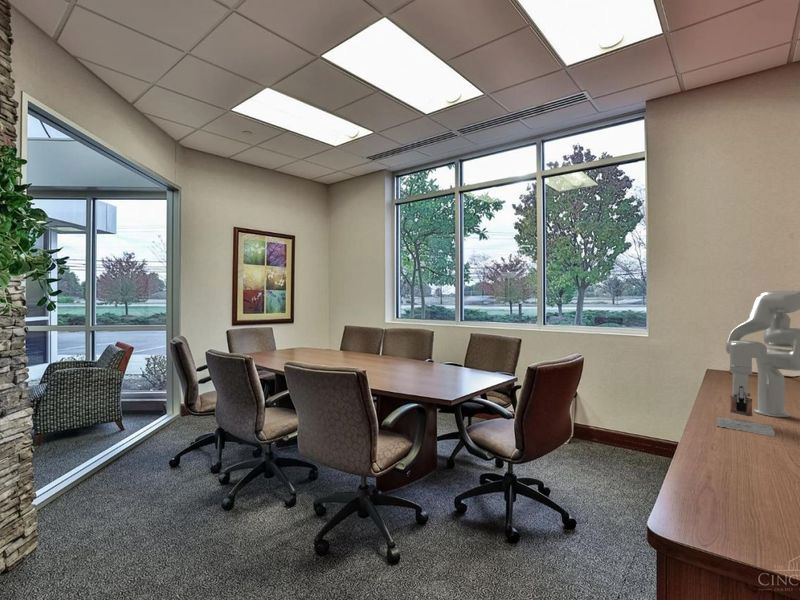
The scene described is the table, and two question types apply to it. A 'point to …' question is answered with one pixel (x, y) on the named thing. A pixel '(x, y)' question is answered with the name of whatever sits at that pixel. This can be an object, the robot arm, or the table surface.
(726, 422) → the track
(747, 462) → the table surface
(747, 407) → the lighter
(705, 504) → the table surface
